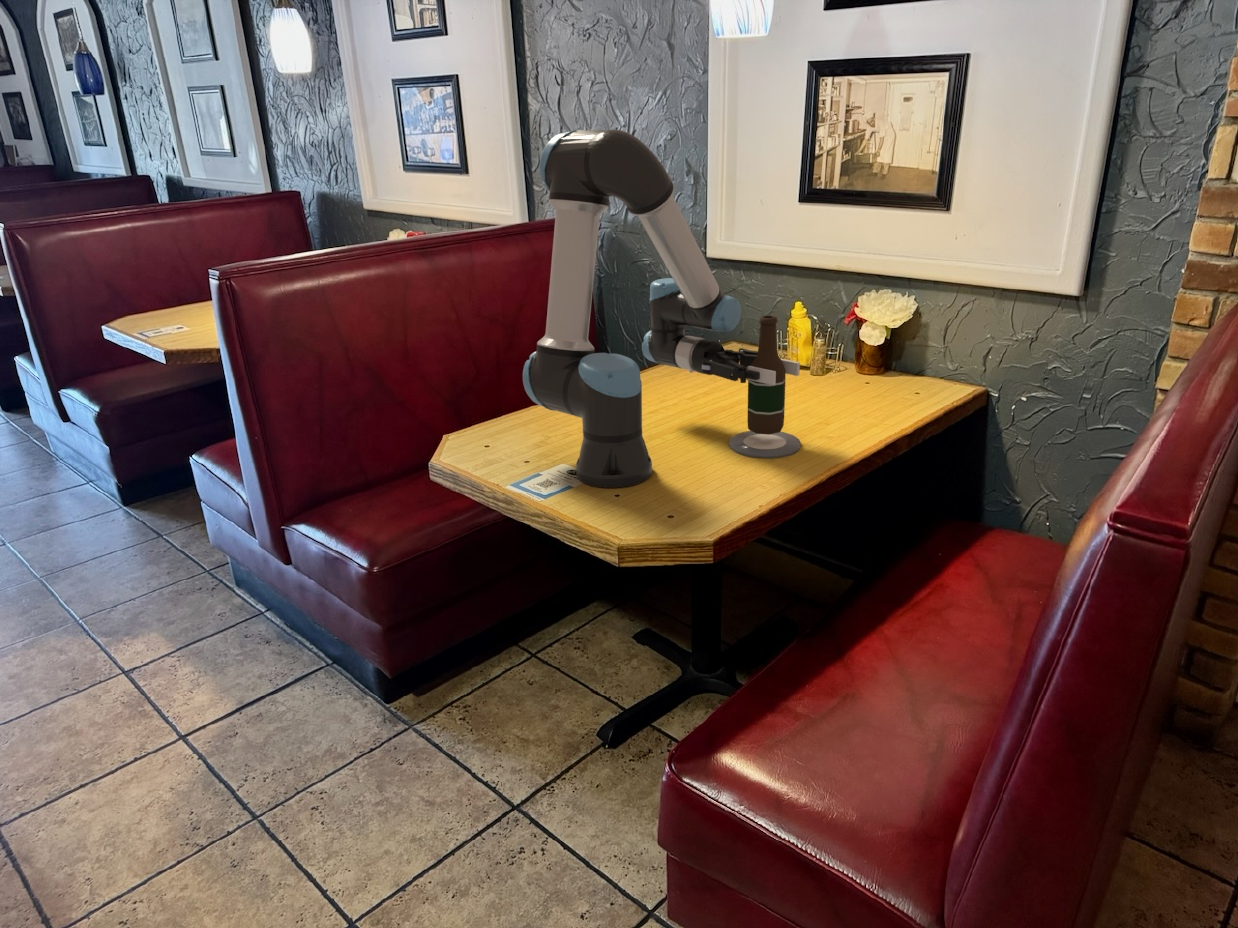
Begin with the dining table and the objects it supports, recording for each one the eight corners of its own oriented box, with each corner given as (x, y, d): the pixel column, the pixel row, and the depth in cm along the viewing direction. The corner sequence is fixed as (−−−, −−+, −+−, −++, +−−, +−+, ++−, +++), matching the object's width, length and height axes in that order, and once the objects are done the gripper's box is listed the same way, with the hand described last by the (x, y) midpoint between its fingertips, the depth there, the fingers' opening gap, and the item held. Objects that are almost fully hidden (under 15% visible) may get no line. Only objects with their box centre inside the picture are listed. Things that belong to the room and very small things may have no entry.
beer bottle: (791, 427, 179) (795, 315, 170) (770, 437, 174) (774, 322, 165) (760, 420, 184) (763, 311, 175) (739, 430, 179) (741, 318, 170)
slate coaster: (772, 463, 170) (772, 459, 170) (714, 446, 181) (714, 442, 180) (814, 443, 180) (814, 439, 180) (757, 428, 190) (758, 424, 190)
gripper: (730, 362, 194) (814, 380, 179) (669, 382, 181) (755, 403, 166) (730, 330, 191) (816, 345, 176) (669, 348, 178) (756, 366, 163)
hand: (786, 373), depth 171 cm, fingers closed on beer bottle, 7 cm apart
